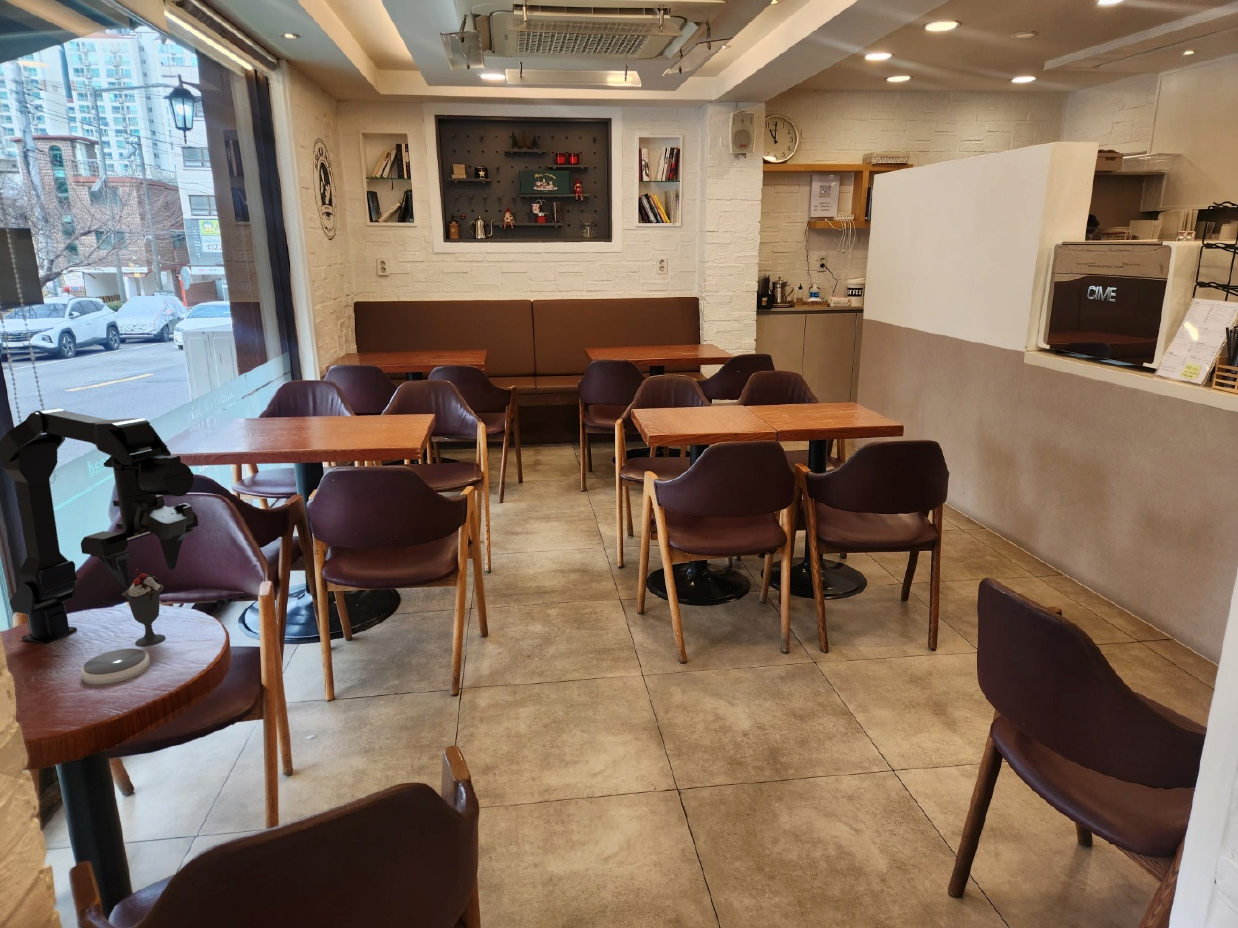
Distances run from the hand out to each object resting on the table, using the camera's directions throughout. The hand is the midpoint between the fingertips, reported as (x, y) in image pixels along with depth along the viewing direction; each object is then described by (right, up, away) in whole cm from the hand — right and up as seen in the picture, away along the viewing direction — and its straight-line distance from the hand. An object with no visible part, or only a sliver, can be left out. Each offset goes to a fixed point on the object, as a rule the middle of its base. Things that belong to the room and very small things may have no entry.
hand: (149, 577), depth 138 cm
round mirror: (-4, -16, -3) cm, 16 cm away
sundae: (-5, -13, +9) cm, 17 cm away
